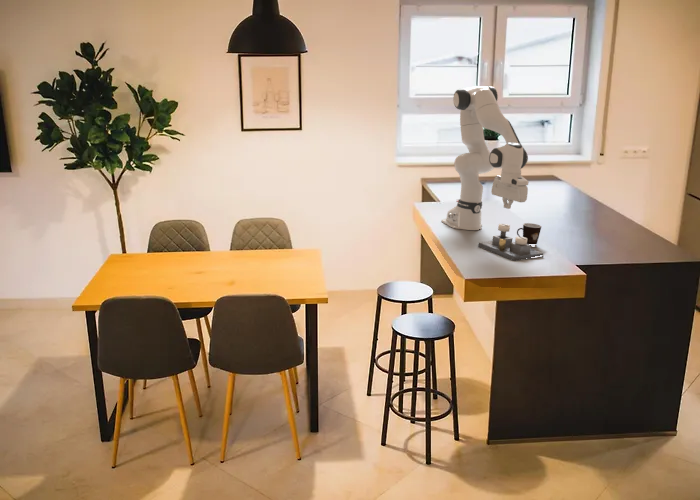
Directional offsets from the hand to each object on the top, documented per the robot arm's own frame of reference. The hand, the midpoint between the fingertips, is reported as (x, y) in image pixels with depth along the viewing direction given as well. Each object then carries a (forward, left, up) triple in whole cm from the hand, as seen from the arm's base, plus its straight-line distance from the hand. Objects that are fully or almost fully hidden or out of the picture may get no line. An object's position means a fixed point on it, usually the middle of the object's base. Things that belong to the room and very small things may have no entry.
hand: (506, 208), depth 334 cm
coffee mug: (-1, +17, -20) cm, 26 cm away
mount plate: (+6, 0, -19) cm, 20 cm away
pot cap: (+6, -6, -18) cm, 19 cm away
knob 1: (0, 0, -14) cm, 14 cm away
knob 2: (+12, 0, -17) cm, 21 cm away
